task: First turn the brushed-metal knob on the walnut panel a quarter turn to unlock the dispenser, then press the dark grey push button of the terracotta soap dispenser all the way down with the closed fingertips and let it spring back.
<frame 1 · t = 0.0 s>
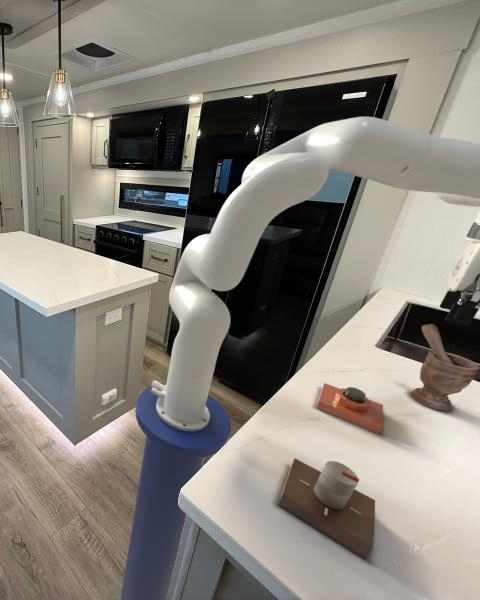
hand: (452, 316, 65), 28 cm above the countertop, tool pointing down, fingers open, 9 cm apart
lock knob: (335, 484, 52), point 6 cm above the countertop, hinge at 0.0°
dark grey push button: (354, 395, 76), point 5 cm above the countertop, slide at 0.1 cm
lock panel: (322, 508, 54), on the countertop
mortar and pestle: (419, 398, 83), on the countertop
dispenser: (347, 409, 78), on the countertop
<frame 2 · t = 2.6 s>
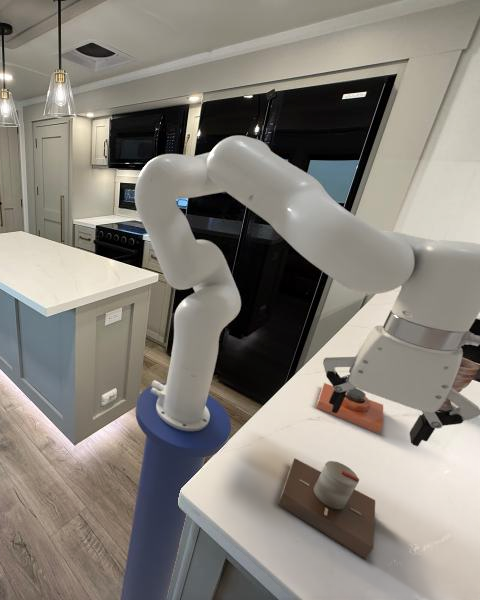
hand: (371, 423, 50), 17 cm above the countertop, tool pointing down, fingers open, 9 cm apart
nothing on the countertop moved.
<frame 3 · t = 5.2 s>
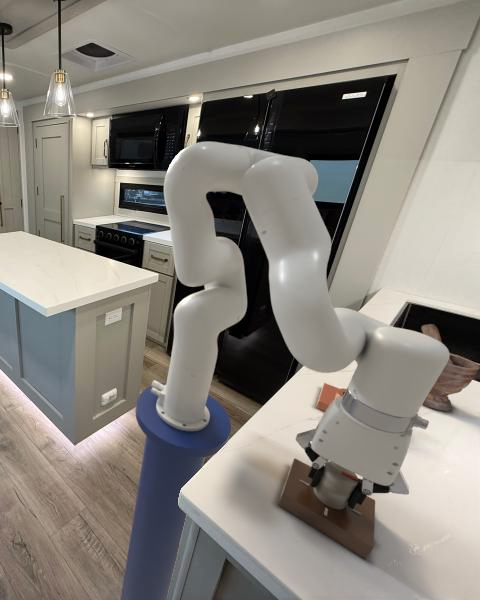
hand: (331, 490, 53), 5 cm above the countertop, tool pointing down, fingers closed on lock knob, 4 cm apart
lock knob: (335, 484, 52), point 6 cm above the countertop, hinge at 0.0°, touching gripper
everything else where it was.
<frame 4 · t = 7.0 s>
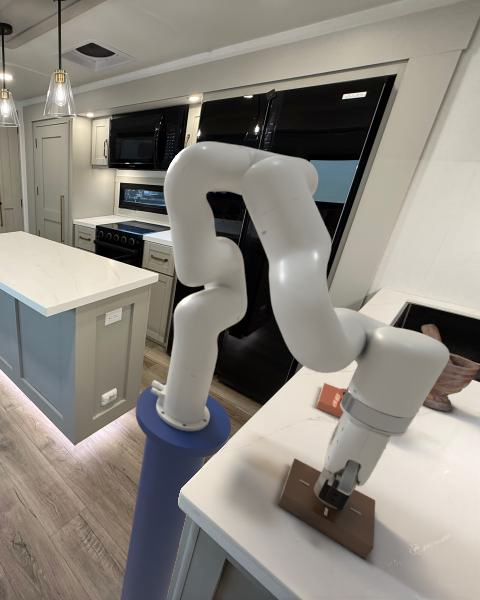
hand: (332, 490, 53), 5 cm above the countertop, tool pointing down, fingers closed on lock knob, 4 cm apart
lock knob: (335, 484, 52), point 6 cm above the countertop, hinge at 89.8°, touching gripper
everything else where it was.
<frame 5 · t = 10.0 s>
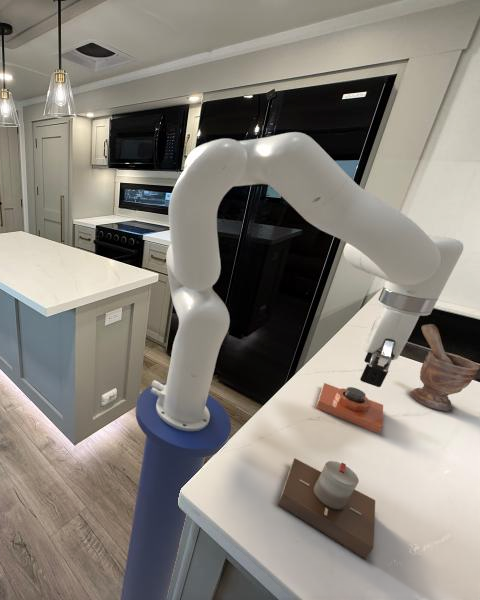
hand: (371, 373, 66), 15 cm above the countertop, tool pointing down, fingers open, 9 cm apart
lock knob: (335, 484, 52), point 6 cm above the countertop, hinge at 88.8°
everything else where it was.
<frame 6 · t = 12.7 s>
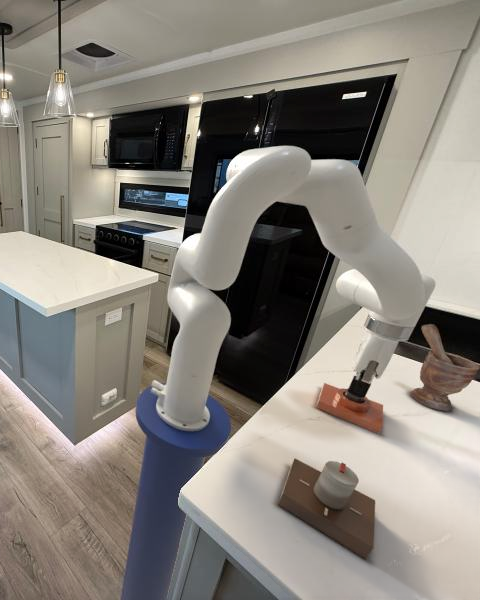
hand: (356, 392, 76), 5 cm above the countertop, tool pointing down, fingers closed
dark grey push button: (354, 396, 76), point 4 cm above the countertop, slide at -0.2 cm, touching gripper
everything else where it was.
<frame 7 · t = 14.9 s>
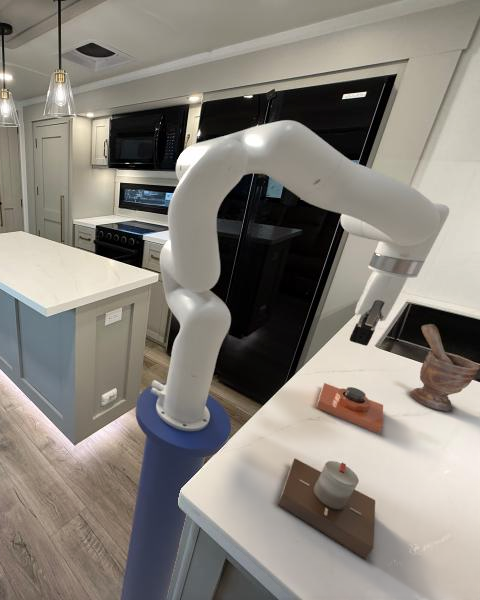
hand: (358, 342, 70), 19 cm above the countertop, tool pointing down, fingers closed
dark grey push button: (354, 395, 76), point 5 cm above the countertop, slide at 0.1 cm
everything else where it was.
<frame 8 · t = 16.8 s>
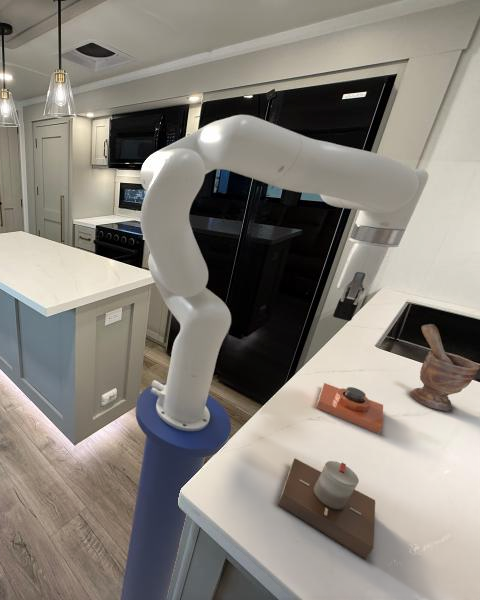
hand: (341, 317, 69), 25 cm above the countertop, tool pointing down, fingers closed
nothing on the countertop moved.
at the end: lock knob at +89° (first picture: +0°); dark grey push button pushed in 1.1 cm at the most during the clip, back to where it started at the end; dark grey push button slide at 0.1 cm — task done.
